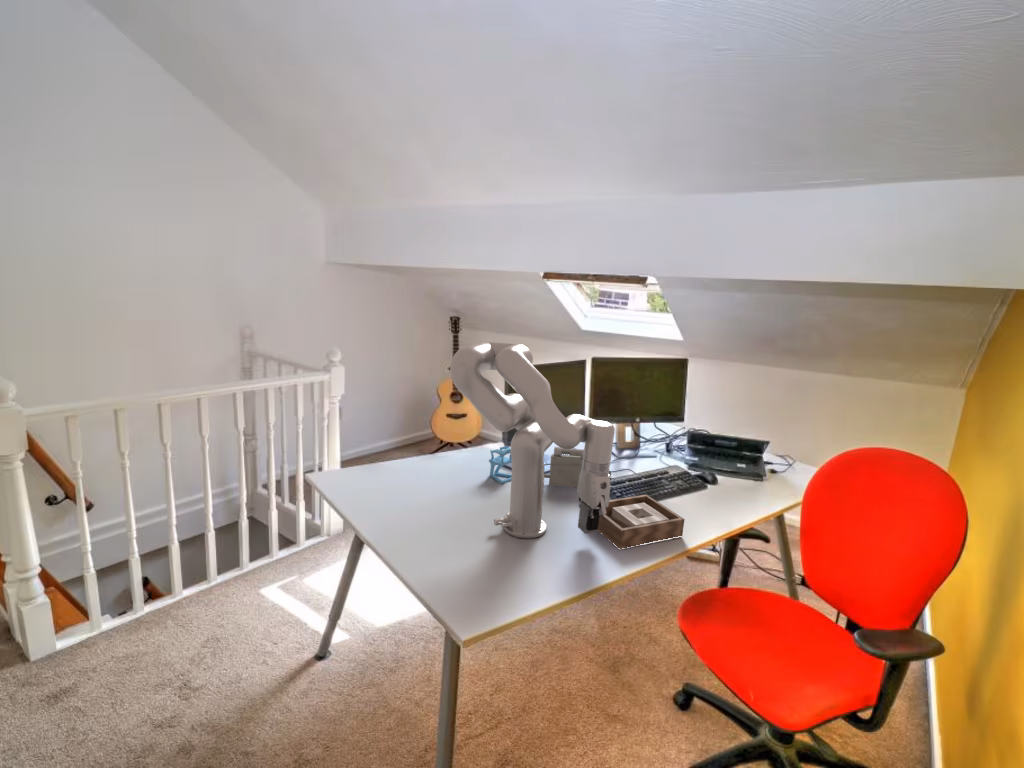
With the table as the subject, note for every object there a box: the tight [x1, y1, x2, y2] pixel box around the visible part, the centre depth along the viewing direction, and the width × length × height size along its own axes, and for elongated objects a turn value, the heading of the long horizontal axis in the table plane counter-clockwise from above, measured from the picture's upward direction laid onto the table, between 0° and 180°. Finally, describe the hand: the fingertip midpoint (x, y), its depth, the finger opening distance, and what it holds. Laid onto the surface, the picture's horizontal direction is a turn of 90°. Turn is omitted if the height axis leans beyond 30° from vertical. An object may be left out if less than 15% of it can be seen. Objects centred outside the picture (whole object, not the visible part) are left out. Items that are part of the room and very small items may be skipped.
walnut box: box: [597, 494, 685, 549], centre depth 165 cm, size 22×18×6 cm
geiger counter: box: [544, 446, 584, 488], centre depth 195 cm, size 14×6×25 cm
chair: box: [488, 445, 512, 485], centre depth 199 cm, size 8×8×12 cm
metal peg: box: [577, 501, 598, 535], centre depth 155 cm, size 4×4×8 cm
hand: (587, 525), depth 155 cm, fingers closed on metal peg, 4 cm apart
